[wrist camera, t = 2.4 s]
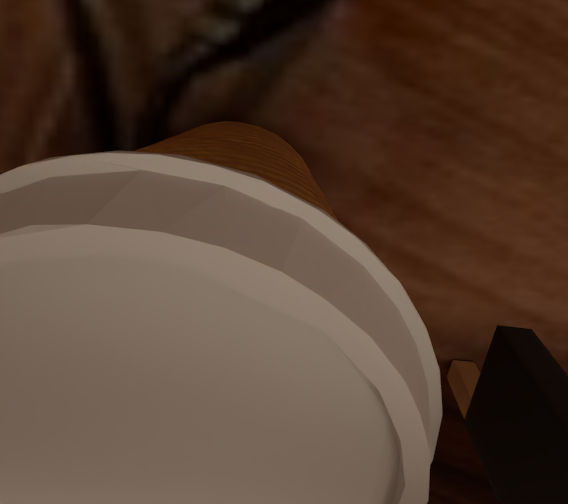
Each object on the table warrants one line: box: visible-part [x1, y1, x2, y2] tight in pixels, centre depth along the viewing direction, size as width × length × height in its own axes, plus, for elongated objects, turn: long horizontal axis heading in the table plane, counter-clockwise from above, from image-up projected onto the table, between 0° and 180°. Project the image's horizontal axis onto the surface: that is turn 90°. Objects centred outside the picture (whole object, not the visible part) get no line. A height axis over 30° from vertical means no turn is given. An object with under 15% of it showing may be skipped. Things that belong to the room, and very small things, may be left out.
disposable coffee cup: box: [0, 121, 443, 504], centre depth 13 cm, size 10×10×12 cm
